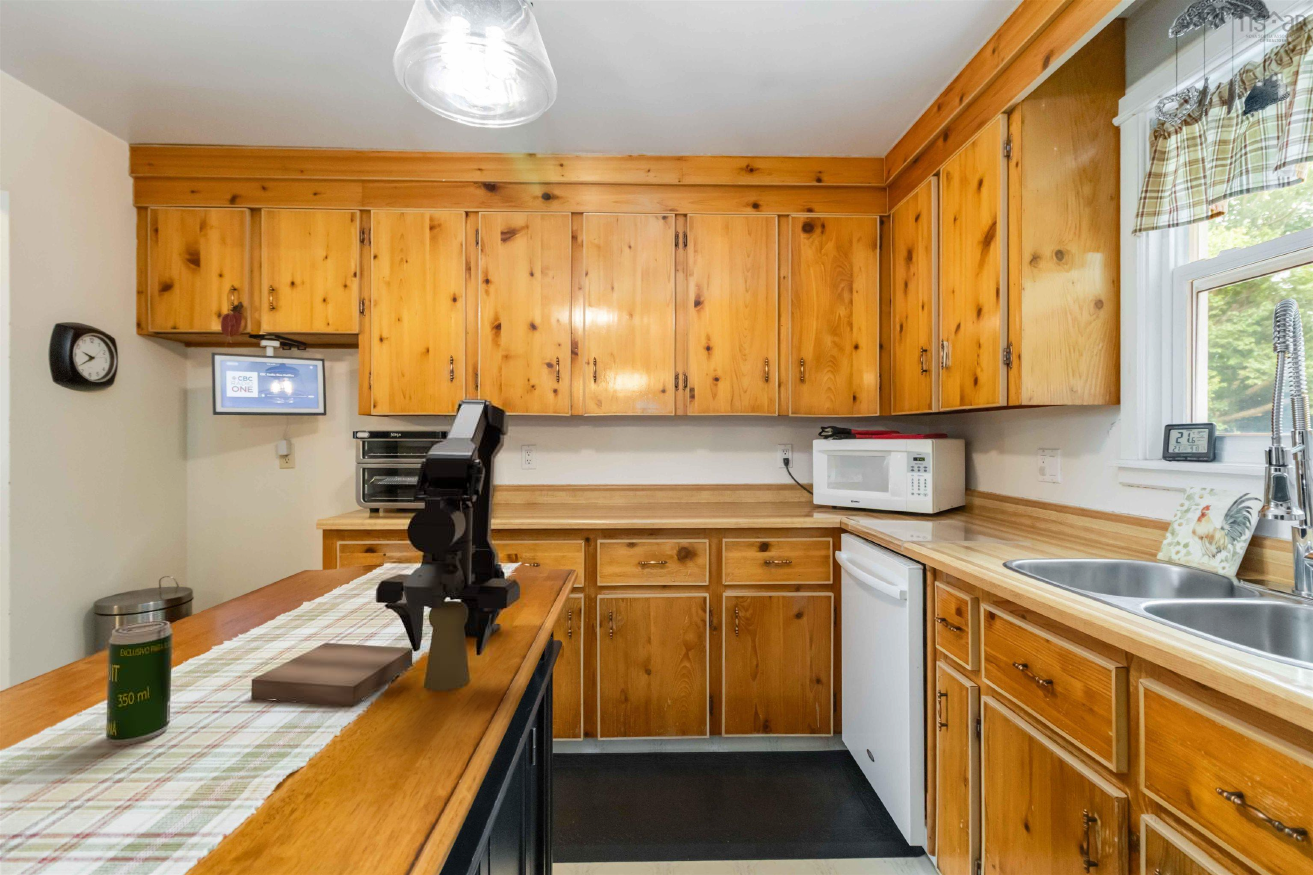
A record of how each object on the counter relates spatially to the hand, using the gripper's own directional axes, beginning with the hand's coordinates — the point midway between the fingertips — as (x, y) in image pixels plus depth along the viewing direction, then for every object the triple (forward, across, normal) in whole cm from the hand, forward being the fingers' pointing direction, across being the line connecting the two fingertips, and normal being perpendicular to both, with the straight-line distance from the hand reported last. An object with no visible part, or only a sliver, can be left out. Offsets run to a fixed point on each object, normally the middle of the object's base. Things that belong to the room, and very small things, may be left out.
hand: (447, 652), depth 81 cm
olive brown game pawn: (+4, 0, 0) cm, 4 cm away
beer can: (+4, -27, -19) cm, 33 cm away
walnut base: (+4, -15, -2) cm, 16 cm away
